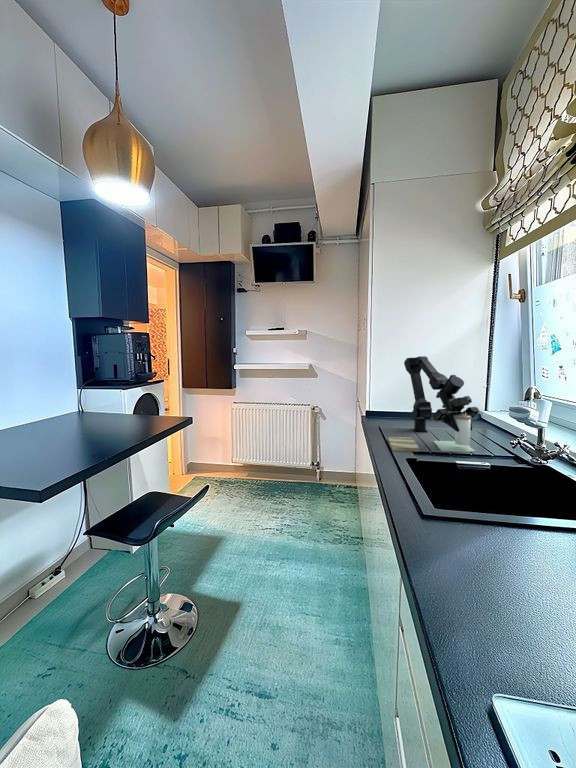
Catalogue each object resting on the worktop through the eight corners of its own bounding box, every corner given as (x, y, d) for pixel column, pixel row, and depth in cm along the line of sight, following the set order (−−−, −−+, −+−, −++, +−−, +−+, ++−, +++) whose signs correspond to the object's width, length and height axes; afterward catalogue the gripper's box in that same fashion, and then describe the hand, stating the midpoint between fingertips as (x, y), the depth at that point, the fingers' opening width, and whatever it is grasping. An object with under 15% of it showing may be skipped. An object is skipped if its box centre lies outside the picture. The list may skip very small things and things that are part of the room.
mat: (433, 442, 148) (433, 440, 148) (463, 442, 146) (464, 441, 146) (441, 451, 136) (441, 449, 135) (475, 452, 133) (475, 450, 133)
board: (387, 440, 153) (387, 436, 153) (412, 440, 151) (412, 437, 151) (392, 450, 138) (392, 447, 137) (419, 451, 136) (419, 448, 135)
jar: (451, 443, 137) (452, 415, 136) (458, 440, 141) (460, 413, 139) (465, 446, 133) (466, 417, 131) (472, 443, 136) (473, 415, 134)
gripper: (437, 390, 136) (454, 422, 127) (477, 388, 139) (496, 419, 130) (426, 405, 145) (441, 436, 136) (464, 403, 148) (480, 433, 138)
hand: (464, 430), depth 135 cm, fingers closed on jar, 6 cm apart
